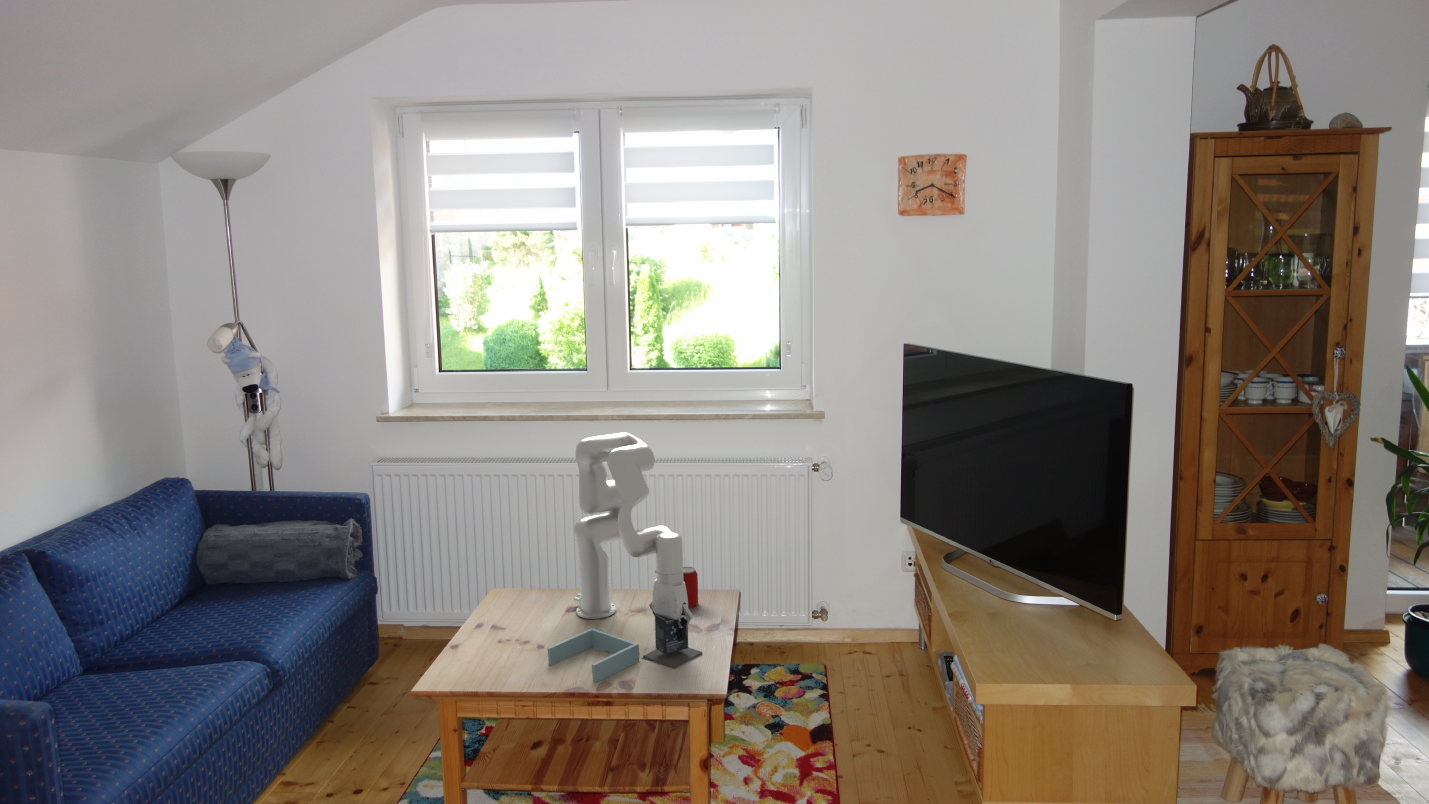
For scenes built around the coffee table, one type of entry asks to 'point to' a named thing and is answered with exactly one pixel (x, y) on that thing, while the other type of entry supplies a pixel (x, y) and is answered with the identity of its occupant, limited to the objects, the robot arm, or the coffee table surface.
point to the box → (668, 635)
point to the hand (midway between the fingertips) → (671, 635)
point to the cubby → (621, 648)
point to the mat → (673, 657)
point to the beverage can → (691, 585)
